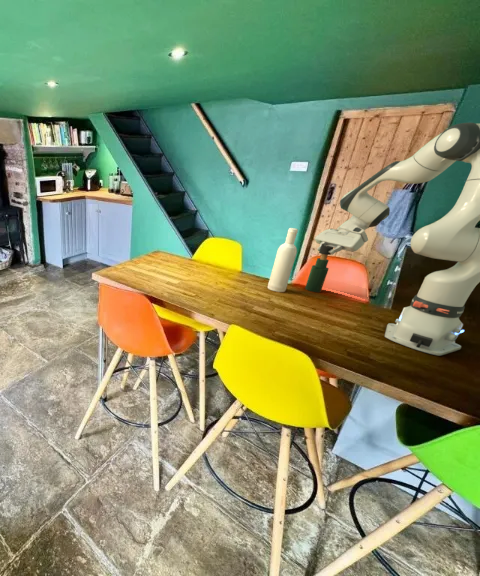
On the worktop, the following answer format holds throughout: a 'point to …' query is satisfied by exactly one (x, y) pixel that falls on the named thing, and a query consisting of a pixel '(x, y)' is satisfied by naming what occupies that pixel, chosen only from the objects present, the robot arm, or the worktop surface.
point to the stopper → (325, 251)
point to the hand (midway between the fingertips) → (324, 251)
